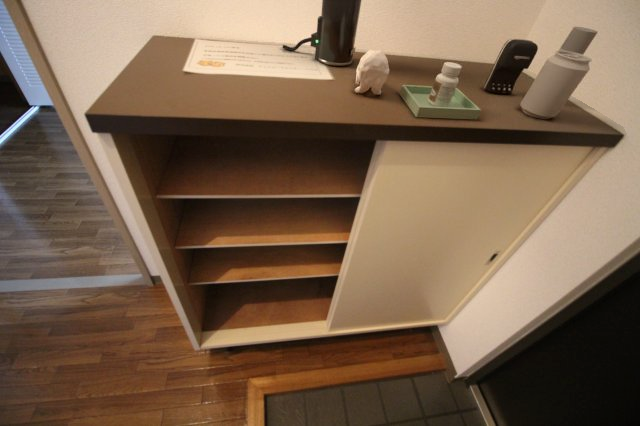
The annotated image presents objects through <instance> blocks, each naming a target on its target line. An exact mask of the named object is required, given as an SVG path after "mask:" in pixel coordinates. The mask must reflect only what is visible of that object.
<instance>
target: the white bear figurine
mask: <svg viewBox="0 0 640 426" xmlns="http://www.w3.org/2000/svg"><path fill="white" fill-rule="evenodd" d="M389 67H390V66H389V60H388V58H387V56H386V54H385V53H384V52H383V51H381V50H380V49H377V50H375V49H369V50H368V51H367V52H365V54H363V55H362V56H361V57H360V60H359V63H358V65H357V67H356V69H355V85H358V84H359V86H357V87H355V88H354V92H355V93H357V94H363V93H364V94H365V93H366V92H367V91H369V90H371V93H372V94H373V95H375V96H379V95H381V94H382V90H381V89H382V87H383V86H384V84H385V83H386V81H387V79H388V76H389V74H390V68H389ZM370 88H371V89H370Z"/></svg>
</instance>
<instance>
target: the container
mask: <svg viewBox="0 0 640 426" xmlns="http://www.w3.org/2000/svg"><path fill="white" fill-rule="evenodd" d="M597 34H598V31H597V30H595V29H591V28H587V27H582V26H573V27H572V29H571V31H570V32H569V34H568V35H567V37H566V38H565V40H564V41H563V43H562V44H561V46H560V47H559V49H558V51H560V50H561V51H569V52H574V53H578V54H582V55H584V54H585V53H586V51H587V50H588V48H589V47H590V46H591V43H592V42H593V40H594V39H595V37H596V36H597Z"/></svg>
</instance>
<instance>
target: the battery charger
mask: <svg viewBox="0 0 640 426" xmlns="http://www.w3.org/2000/svg"><path fill="white" fill-rule="evenodd" d="M538 46H539V45H538V44H537V43H535V42H534V41H532V40H530V39H525V38H510V39H508V40H507V41H505V42H504V44H503V45H502V47H501V49H500V50H499V53H498V55H497V56H496V58H495V62H494V63H493V66H492V68H491V70H490V72H489V75H488V77H487V79H486V81H485V83H484V84H483V89H484V90H485V91H487V92H488V93H492V94H501V95H511V94H512V92H513V91H514V88H515V85H516V83H517V81H518V79H519V77H520V76H521V74H522V72H523V71H524V70H528V69H529V68H530V66H531V64H532V62H533V60H534V59H535V57H536V55H537V53H538V50H539V47H538Z"/></svg>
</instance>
